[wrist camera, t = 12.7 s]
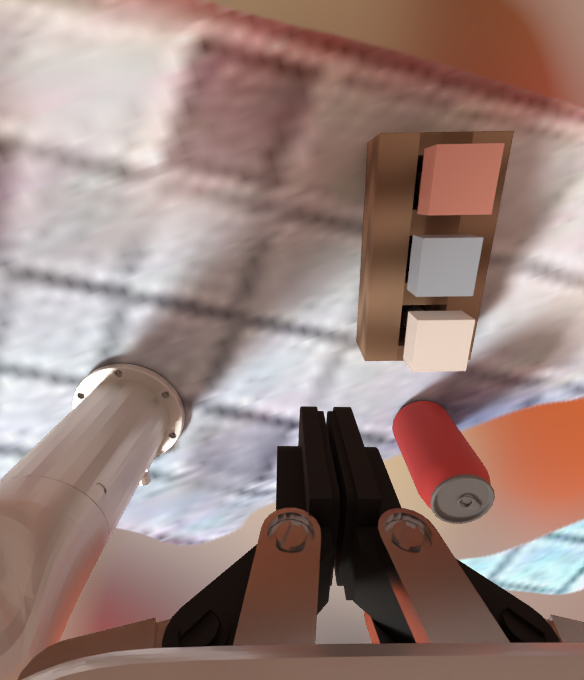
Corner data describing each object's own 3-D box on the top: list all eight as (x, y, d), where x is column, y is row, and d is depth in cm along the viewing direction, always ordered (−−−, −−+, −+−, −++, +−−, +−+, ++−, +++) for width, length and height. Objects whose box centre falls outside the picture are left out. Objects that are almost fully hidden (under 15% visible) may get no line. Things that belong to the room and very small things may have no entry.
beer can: (424, 451, 44) (468, 537, 33) (380, 430, 43) (410, 512, 32) (457, 412, 42) (517, 490, 31) (412, 388, 41) (456, 461, 30)
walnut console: (448, 340, 38) (470, 359, 34) (356, 341, 39) (364, 360, 34) (481, 140, 31) (513, 131, 27) (367, 142, 31) (380, 133, 27)
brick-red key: (448, 210, 32) (491, 214, 25) (399, 211, 32) (428, 215, 25) (456, 155, 30) (504, 143, 23) (404, 156, 30) (437, 144, 23)
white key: (432, 337, 36) (465, 370, 29) (388, 338, 36) (411, 371, 29) (438, 294, 34) (475, 319, 27) (392, 295, 34) (417, 320, 27)
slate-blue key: (437, 276, 34) (472, 296, 28) (391, 276, 34) (416, 296, 28) (443, 228, 33) (483, 237, 26) (396, 229, 33) (423, 238, 26)
